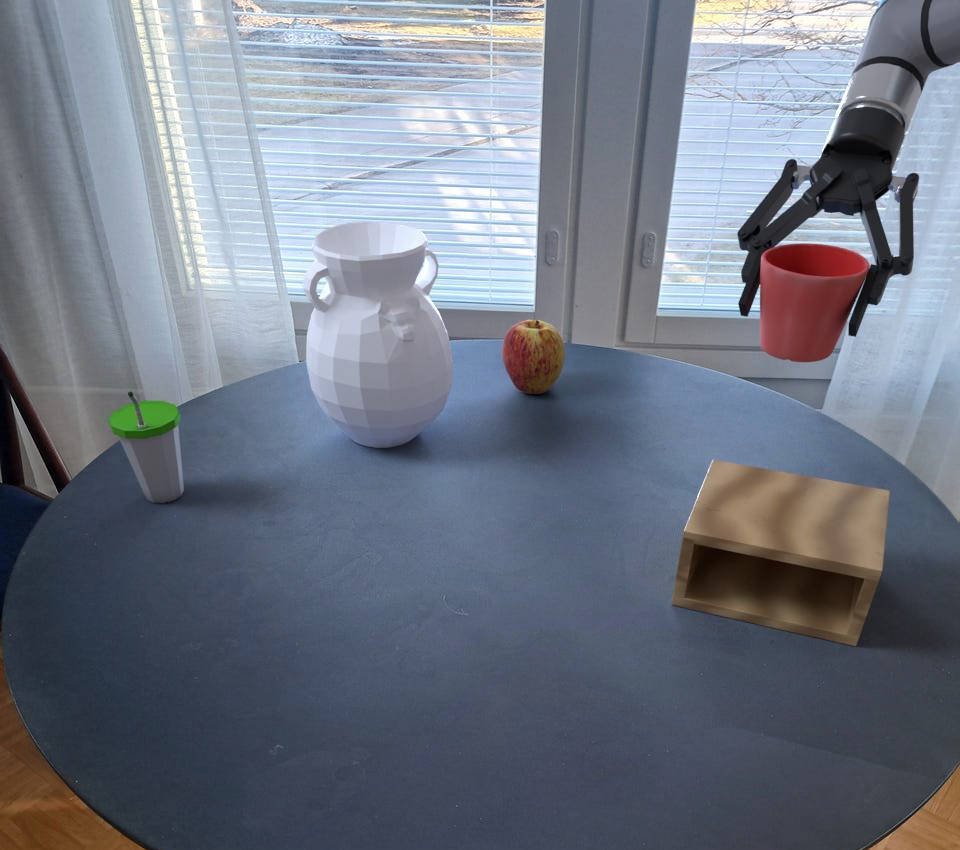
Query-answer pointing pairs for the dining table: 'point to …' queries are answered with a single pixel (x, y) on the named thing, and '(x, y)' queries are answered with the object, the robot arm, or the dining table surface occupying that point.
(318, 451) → the dining table surface
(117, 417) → the cup
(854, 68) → the robot arm
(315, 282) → the white handled vase
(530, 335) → the apple
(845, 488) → the cubby shelf
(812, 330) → the flower pot
